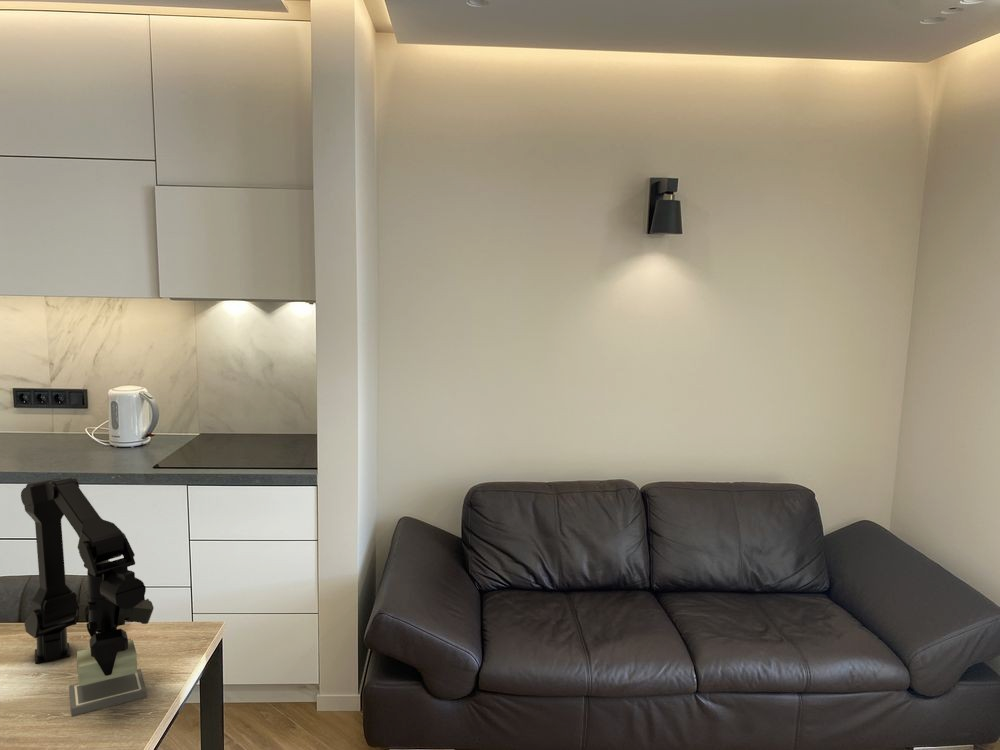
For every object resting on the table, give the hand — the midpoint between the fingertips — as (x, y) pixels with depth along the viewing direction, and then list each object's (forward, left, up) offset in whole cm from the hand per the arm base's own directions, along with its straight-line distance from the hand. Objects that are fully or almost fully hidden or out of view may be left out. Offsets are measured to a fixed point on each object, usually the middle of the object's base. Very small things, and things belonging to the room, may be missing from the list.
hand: (106, 666), depth 143 cm
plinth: (0, 0, -6) cm, 6 cm away
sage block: (0, 0, -1) cm, 1 cm away
